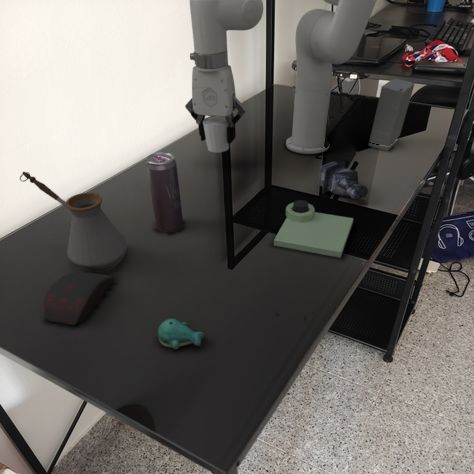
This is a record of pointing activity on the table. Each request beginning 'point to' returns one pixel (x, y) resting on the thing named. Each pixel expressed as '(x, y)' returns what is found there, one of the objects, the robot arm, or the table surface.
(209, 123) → the grey cup
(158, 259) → the table surface
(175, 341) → the whale figurine
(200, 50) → the robot arm
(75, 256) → the coffee pot
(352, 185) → the dark statue fragment
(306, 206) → the button
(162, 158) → the beverage can
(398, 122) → the cosmetic box
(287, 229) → the scale
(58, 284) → the computer mouse
